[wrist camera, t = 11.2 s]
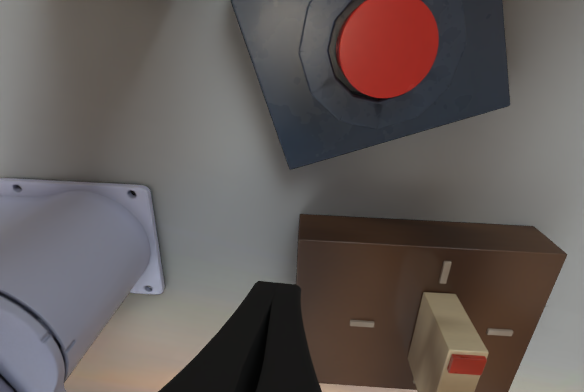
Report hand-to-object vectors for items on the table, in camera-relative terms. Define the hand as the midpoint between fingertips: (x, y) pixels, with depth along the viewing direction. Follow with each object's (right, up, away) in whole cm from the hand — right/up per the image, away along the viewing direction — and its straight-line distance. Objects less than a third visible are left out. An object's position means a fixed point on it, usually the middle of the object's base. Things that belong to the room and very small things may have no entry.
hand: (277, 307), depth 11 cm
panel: (+8, -3, +12) cm, 15 cm away
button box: (+4, +11, +6) cm, 13 cm away
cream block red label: (+9, -4, +10) cm, 14 cm away
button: (+4, +10, +3) cm, 11 cm away
